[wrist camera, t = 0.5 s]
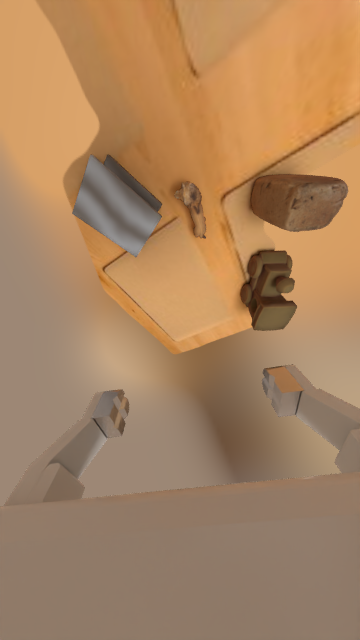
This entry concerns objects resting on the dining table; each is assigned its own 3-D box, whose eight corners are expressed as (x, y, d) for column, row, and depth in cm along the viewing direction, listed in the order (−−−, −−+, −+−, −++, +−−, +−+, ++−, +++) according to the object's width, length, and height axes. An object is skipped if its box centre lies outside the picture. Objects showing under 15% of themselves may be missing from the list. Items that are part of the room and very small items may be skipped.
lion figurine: (172, 187, 40) (171, 192, 33) (191, 172, 38) (195, 175, 31) (197, 242, 49) (201, 254, 42) (214, 232, 47) (220, 243, 41)
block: (245, 212, 44) (281, 235, 29) (252, 174, 38) (300, 181, 24) (285, 209, 44) (341, 232, 29) (298, 171, 38) (374, 176, 24)
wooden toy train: (265, 299, 65) (286, 330, 53) (236, 300, 65) (251, 331, 53) (287, 247, 51) (322, 273, 39) (251, 248, 51) (275, 275, 39)
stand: (104, 150, 35) (92, 148, 30) (165, 206, 42) (164, 213, 37) (83, 210, 42) (70, 217, 37) (138, 249, 50) (134, 260, 44)
